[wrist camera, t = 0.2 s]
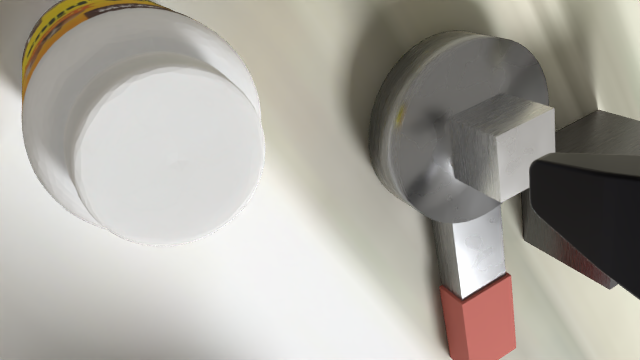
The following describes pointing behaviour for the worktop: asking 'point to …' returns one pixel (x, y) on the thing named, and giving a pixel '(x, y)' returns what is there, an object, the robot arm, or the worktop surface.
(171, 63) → the supplement bottle
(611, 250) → the robot arm
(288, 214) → the worktop surface
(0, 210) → the worktop surface
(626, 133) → the brushed grey cube
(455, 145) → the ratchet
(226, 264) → the worktop surface
